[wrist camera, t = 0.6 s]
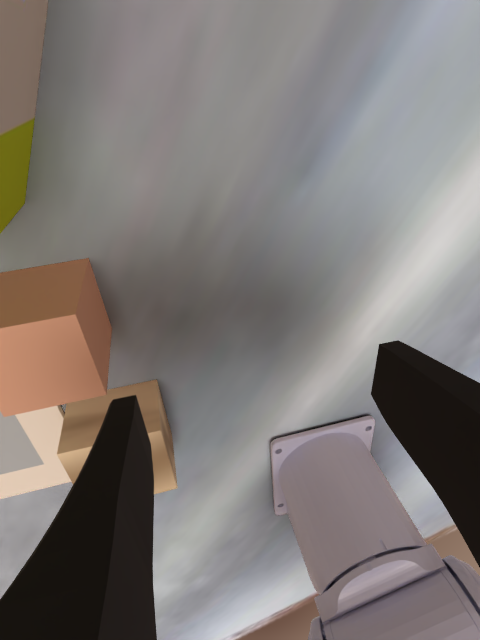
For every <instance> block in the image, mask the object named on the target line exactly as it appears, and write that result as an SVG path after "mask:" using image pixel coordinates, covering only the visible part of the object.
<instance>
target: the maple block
mask: <svg viewBox="0 0 480 640" xmlns="http://www.w3.org/2000/svg"><path fill="white" fill-rule="evenodd" d="M132 395H136V397H137V400H138V403H139V406H140V410H141V413H142V416H143V420H144V423H145V426H146V430H147V433H148V436H149V440H150V443H151V451H152V461H153V473H154V494H157V493H161V492H165V491H168V490H172V489H176V488H178V487H177V478H176V469H175V459H174V450H173V441H172V434H171V430H170V427H169V423H168V419H167V416H166V412H165V408H164V405H163V401H162V397H161V393H160V390H159V386H158V382H157V379H156V380H152V381H147V382H142V383H137V384H133V385H128V386H123V387H119V388H114V389H109V390H107V395H103V396H99V397H94V398H90V399H85V400H80V401H76V402H71V403H67V405H66V410H65V415H64V420H63V425H62V430H61V435H60V441H59V446H58V451H57V456H58V458H59V459H60V461H61V463H62V465H63V467H64V469H65V470H66V472H67V474H68V476H69V478H70V480H71V481H72V483H73V485H74V483H75V481H76V479H77V477H78V475H79V473H80V471H81V469H82V467H83V465H84V463H85V461H86V459H87V457H88V455H89V453H90V450H91V448H92V446H93V444H94V442H95V440H96V437H97V435H98V433H99V430H100V428H101V426H102V423H103V421H104V418H105V415H106V413H107V410H108V407H109V405H110V403H111V401H112V400H113V399H118V398H123V397H127V396H132Z"/></svg>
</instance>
